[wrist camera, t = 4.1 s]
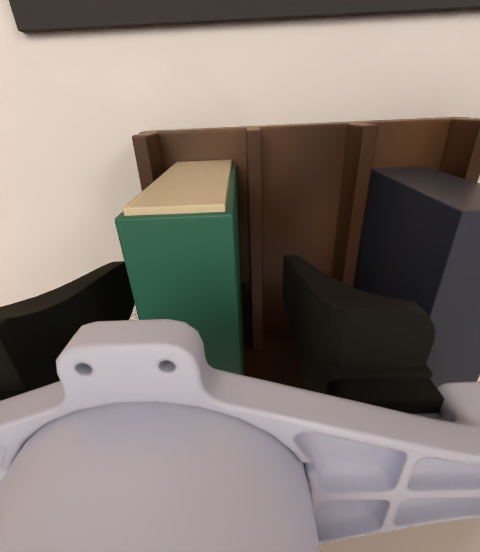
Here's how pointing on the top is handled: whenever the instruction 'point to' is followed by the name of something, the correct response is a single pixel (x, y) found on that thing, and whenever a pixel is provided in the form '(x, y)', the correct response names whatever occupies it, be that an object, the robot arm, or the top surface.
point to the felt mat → (203, 11)
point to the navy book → (427, 258)
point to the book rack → (305, 203)
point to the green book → (189, 255)
